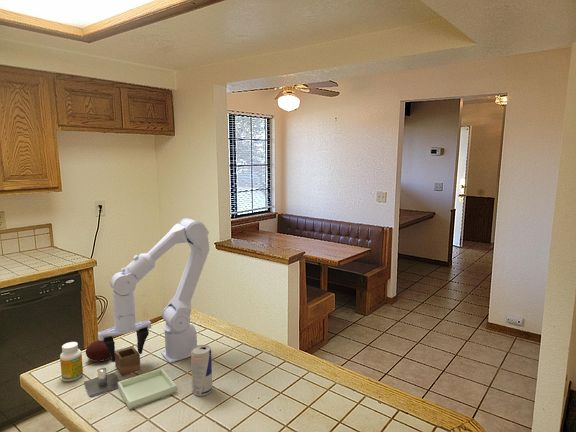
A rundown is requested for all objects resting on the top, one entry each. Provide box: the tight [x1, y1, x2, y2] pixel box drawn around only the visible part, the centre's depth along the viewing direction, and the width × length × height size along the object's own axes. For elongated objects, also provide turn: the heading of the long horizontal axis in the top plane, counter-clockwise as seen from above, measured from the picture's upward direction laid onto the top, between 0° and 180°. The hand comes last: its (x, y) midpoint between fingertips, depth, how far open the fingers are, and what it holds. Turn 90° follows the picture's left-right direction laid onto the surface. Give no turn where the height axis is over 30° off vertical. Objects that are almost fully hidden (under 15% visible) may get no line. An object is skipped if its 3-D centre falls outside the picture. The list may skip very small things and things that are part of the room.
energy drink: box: [190, 344, 213, 397], centre depth 105 cm, size 5×5×12 cm
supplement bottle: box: [59, 341, 84, 382], centre depth 112 cm, size 5×5×10 cm
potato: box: [84, 339, 116, 362], centre depth 122 cm, size 7×8×6 cm
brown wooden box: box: [114, 345, 142, 377], centre depth 117 cm, size 7×5×5 cm
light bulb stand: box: [83, 367, 120, 398], centre depth 108 cm, size 8×8×5 cm
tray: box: [117, 367, 178, 411], centre depth 106 cm, size 12×11×2 cm
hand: (126, 356), depth 116 cm, fingers open, 7 cm apart
